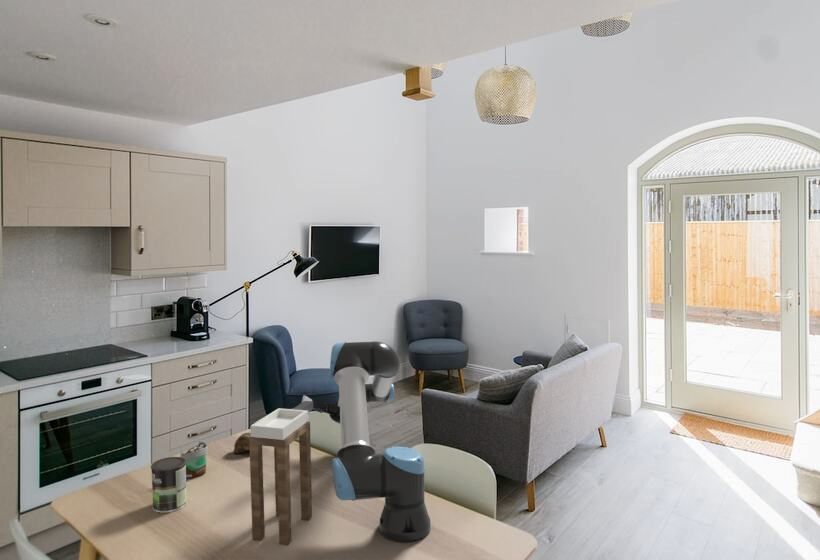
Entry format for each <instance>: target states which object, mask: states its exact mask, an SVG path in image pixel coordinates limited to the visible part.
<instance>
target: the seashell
mask: <svg viewBox="0 0 820 560" xmlns="http://www.w3.org/2000/svg"><path fill="white" fill-rule="evenodd" d="M249 437H251V432H248V431H247V432H245V433H243V434H241V435H240V436H239V437H238V438H237V439H236V440H235V442H234V447H233V449H234V450H233V453H235V454H239V453H243V452H247V451H250V446H249Z"/></svg>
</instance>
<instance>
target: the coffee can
mask: <svg viewBox="0 0 820 560" xmlns="http://www.w3.org/2000/svg"><path fill="white" fill-rule="evenodd" d="M150 469H151V488H152V491H151V492H152V510H153V512H155V511H156V512H155V513H158V512H160V513H159V514H169V513H173V512H174V513H175V512H177V511H179V510H181V509H183V508H185V506H186V505H187V504H188V497H187V492H188V491H187V479H186V460H185V459H184V458H182V457H180V456H169V457H163V458H161V459H158V460H156V461H154V462H153V463H152V464H151V465H150Z"/></svg>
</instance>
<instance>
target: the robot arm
mask: <svg viewBox="0 0 820 560" xmlns="http://www.w3.org/2000/svg"><path fill="white" fill-rule="evenodd" d="M329 363H330V364H329V377H330V378H333V380H334V382H335V384H336V385H338V393H339V397H338V401H337V402H334V403H329V402H324V403H323V402H318V401H315V400H313V399H312V398H310V397H309V396H307V395H304V394H303V395H302V400H301V403H302V402H304V401H313V410H312V411H315V412H318V413H320V414H322V413H325V414H328V415H329V417H330V419H331V420H332V421H333V422H335V423H337V424H338V425H340V445H341V447H340V448H339V450H337V452H336V457H334V458H332V459H331V469H332V476H333V477H332V478H333V485H334V491H335V495H336V497H337V498H338V500H340V501H353V502H354V501H361V500H370V499H371V500H372V499H379V498H380V499H381V498H384V505H383V509H382V511H381V514H380V517H379V523H378V525H379V526H378V527H379V533H380V532H381V535H382V536H383V537H384V538H386V539H387V540H390V541H392V542H393V541H394V542H397V543H398V542H400V543H409V541H411V542H416V541H419V540H421V538H422V539H423V538H425V537H426V536H428V534H430V532H431V529H432V528H431V527H432V525H431V517H430V515H429V512H428V509H427V506H426V503H425V471H426V469H425V460H424V456H423V455H422V454H421V452H419V451H418V450H416V449H413V448H411V447H406V446H391V447H387V448H386V449H385V450H384V452H383V454H382V455H381V454H380V455H376V449H375V447H373V446H372V445H370V432H369V417H368V408H367V407H368V405H367V404H368V403H387V402H392V401H394V399H395V386H394V384H393V382H394V378H395V377H396V376H397V374H398V373H399V371H400V369H401V359H400V356H399V354H398V353H397V351H396V350H395V349H394V348H393V347H392V346H390V345H388V344H386V343H385V342H382V341H378V340H377V341H357V342H347V341H344V342H339V343H337V342H336V343H335V344H333V346H332V348H331V352H330V362H329ZM370 376H373V378H372V383H367V382H368V381H369V378H370ZM415 540H416V541H415Z"/></svg>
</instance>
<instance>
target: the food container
mask: <svg viewBox="0 0 820 560" xmlns="http://www.w3.org/2000/svg"><path fill="white" fill-rule="evenodd" d="M198 442H199V443H198V444H197V445H195V446H193V447H191V448H189V449H188V450H187V451H186V452H181V453H180V456H179V457H182V458H184V459H185V460H186V480H192V479H193V478H194V479H197V478H201V477H202V476H204V475H205V474H206V471H207V470H206V469H207V453H208V452H209V447H208V445H207V443H206V442H204V441H198Z"/></svg>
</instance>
